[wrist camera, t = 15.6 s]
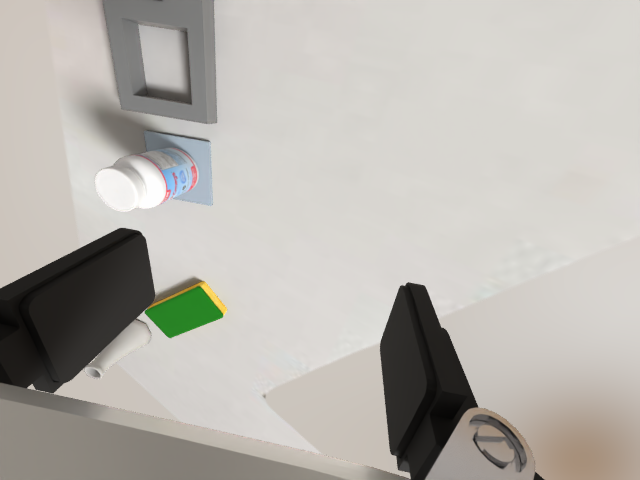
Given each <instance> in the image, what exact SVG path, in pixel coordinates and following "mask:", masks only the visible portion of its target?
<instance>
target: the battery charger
mask: <svg viewBox="0 0 640 480" xmlns="http://www.w3.org/2000/svg"><path fill="white" fill-rule="evenodd" d="M103 6H104V11H105V17H106V23H107V29H108V35H109V40H110V46H111V52H112V58H113V63H114V69H115V75H116V81H117V86H118V92H119V98H120V104H121V109H123V110H129V111H135V112H141V113H146V114H152V115H158V116H164V117H170V118H176V119H181V120H187V121H193V122H199V123H205V124H212V123H217V106H216V69H215V32H214V0H103ZM138 24H140V25H146V26H153V27H159V28H165V29H172V30H178V31H185V32H187V33H188V49H189V64H190V80H191V95H192V103H186V102H180V101H174V100H168V99H162V98H156V97H150V96H147V90H146V82H145V74H144V67H143V59H142V51H141V44H140V36H139V29H138Z"/></svg>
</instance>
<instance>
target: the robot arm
mask: <svg viewBox="0 0 640 480" xmlns="http://www.w3.org/2000/svg"><path fill="white" fill-rule="evenodd" d="M154 298H155V290H154V284H153V279H152V273H151V267H150V261H149V255H148V249H147V243H146V239H145V237H144V236H142V233H141V232H140V231H137V230H132V229H127V228H119V229H117V230H115V231H113V232H111V233H109V234H107V235H105V236H103V237H101V238H99V239H97V240H95V241H93V242H91V243H89V244H87V245H85V246H83V247H81V248H79V249H78V250H76V251H74V252H72V253H70V254H68V255H66V256H64V257H62V258H60V259H58V260H56V261H54V262H52V263H50V264H48V265H46V266H44V267H42V268H40V269H38V270H36V271H34V272H32V273H30V274H28V275H26V276H24V277H22V278H20V279H18V280H16V281H14V282H13V283H10V284H8V285H6V286H4V287H2V288H0V480H544V479H543V478H542V477H540V476H539V475H538V474H537V473H536V472H535V460H534V457H533V454H532V451H531V449H530V447H529V446H528V444H527V442H526V440H525V439H524V437H523V436H522V435H521V434H520V433H519V431H518V430H517V429H516V428H515V427H514V426H512V425H511V424H510V423H509V422H508V421H507V420H506V419H504V418H503V417H501V416H500V415H498V414H497V413H495V412H492V411H489V410H487V409H485V408H484V409H483V408H478V405H477V403H476V400H475V398H474V395H473V393H472V390H471V388H470V385H469V383H468V381H467V378H466V376H465V373H464V371H463V369H462V366H461V364H460V361H459V359H458V356H457V354H456V351H455V349H454V346H453V344H452V341H451V339H450V336H449V334H448V332H447V331H446V330H445V329H444V328H441V326H440V323H439V320H438V318H437V315H436V313H435V310H434V308H433V305H432V302H431V300H430V297H429V295H428V292H427V289H426V287H425V286H424V285H419V284H414V283H409V282H408V283H407V284H406V285H405V286H402V285H401V286H400V288H399V290H398V293H397V296H396V299H395V302H394V305H393V308H392V310H391V313H390V316H389V319H388V322H387V325H386V328H385V331H384V333H383V336H382V339H381V344H380V354H381V364H382V374H383V384H384V395H385V404H386V415H387V424H388V435H389V446H390V452H391V454H392V455H395V456H397V465H398V470H400V471H405V472H409V473H410V476H411V479H409V478H406V477H403V476H399V475H396V474H392V473H389V472H386V471H382V470H380V469H376V468H373V467H369V466H365V465H361V464H357V463H353V462H349V461H345V460H341V459H337V458H333V457H329V456H325V455H321V454H317V453H313V452H309V451H305V450H300V449H296V448H291V447H287V446H283V445H278V444H274V443H270V442H265V441H261V440H256V439H252V438H248V437H243V436H239V435H235V434H230V433H226V432H221V431H217V430H213V429H208V428H204V427H199V426H195V425H190V424H186V423H181V422H177V421H172V420H168V419H163V418H159V417H154V416H150V415H145V414H141V413H136V412H132V411H127V410H122V409H118V408H114V407H109V406H105V405H100V404H96V403H91V402H87V401H82V400H77V399H73V398H68V397H63V396H59V395H54V394H50V393H54V392H55V391H56V390H57V389H58V388H59V387H60V386H62V384H63V383H66V382H68V381H70V380H72V379H73V378H74V377H75V376H76V375H77V374H78V373H79V372H80V371H81V370H82V369H83V368H84V367H86V366H87V365H88V364H89V363H90V362H91V361H92V360H93V359H94V358H95V357H96V356H97V355H98V354H99V353H100V352H101V351H102V350H103V349H104V348H105V347H107V346H108V345H109V344H110V343H111V342H112V341H113V340H114V339H115V338H116V337H117V336H118V335H119V334H120V333H121V332H122V331H123V330H124V329H125V328H126V327H128V326H129V325H130V324H131V323H132V322H133V321H134V320H135V319H136V318H137V317H138V316H139V315H140V314H141V313H142V312H143V311H144V310H145V309H146V308H147V307H148V306H150V305H151V303H152V302H153V301H154ZM31 384H33V386H34V387H35V389H36V390H40V391H45V392H49V393H45V392H40V391H36V390H31V389H27V387H28V386H30V385H31Z"/></svg>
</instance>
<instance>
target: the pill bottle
mask: <svg viewBox="0 0 640 480" xmlns="http://www.w3.org/2000/svg"><path fill="white" fill-rule="evenodd" d="M198 179H199V171H198V167H197V165H196V163H195V161H194V160H193V159H192V157H191V156H190V155H188V154H187V153H186V152H184V151H182V150H180V149H177V148H165V149H160V150H154V151H149V152H144V153H139V154H134V155H129V156H125V157H122V158H120V159H118V160H117V161H116V162H115V163H114V165H113V166H110V167H107V168H104V169H101V170H100V171H99V172H98V173H97V174H96V176H95V188H96V191H97V193H98V195H99V196H100V198H101V199H102V200H103V202H104V203H105V204H107V205H108V206H109V207H111V208H112V209H115V210H117V211H122V212H125V211H130V210H132V209H135V208H144V209H147V208H152V207H155V206H157V205H160V204H162V203H164V202H166V201H168V200H170V199H172V198H175V197H177V196H179V195H181V194H183V193H185V192H188V191H189V190H191V189H193V188H194V187H195V186H196V184H197V182H198Z"/></svg>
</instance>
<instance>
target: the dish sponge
mask: <svg viewBox="0 0 640 480" xmlns="http://www.w3.org/2000/svg"><path fill="white" fill-rule="evenodd" d="M226 311H227V308H226V307H225V305H224V304H223V303H222V302H221V301H220V299H219V298H218V297H217V296H216V294H215V293H214V292H213V291H212V290H211V288H210V287H209V286H208V285H207V283H206V282H204V281H202V282H200V283H198V284H195V285H193V286H191V287H189V288H187V289H185V290H182V291H180V292H178V293H176V294H174V295H172V296H169V297H167V298H165V299H163V300H161V301H158V302H156V303H154V304H152V305H151V306H150V307H149V308H148V309H147V310H145V314H146V315H147V316H148V317H149V318H150V319H151V320H152V321H153V322H154V323H155V324H156V325H157V326H158V327H159V328H160V330H161V331H162V332H163V333H164V334H165V335H166V336H167V337H168V338H172V337H174V336H177V335H179V334H182V333H185V332H187V331H190V330H192V329H195V328H197V327H200V326H202V325H205V324H207V323H210V322H213V321H215V320H218V319H220V318H222V317H223V315H224V314H225V313H226Z"/></svg>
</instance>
